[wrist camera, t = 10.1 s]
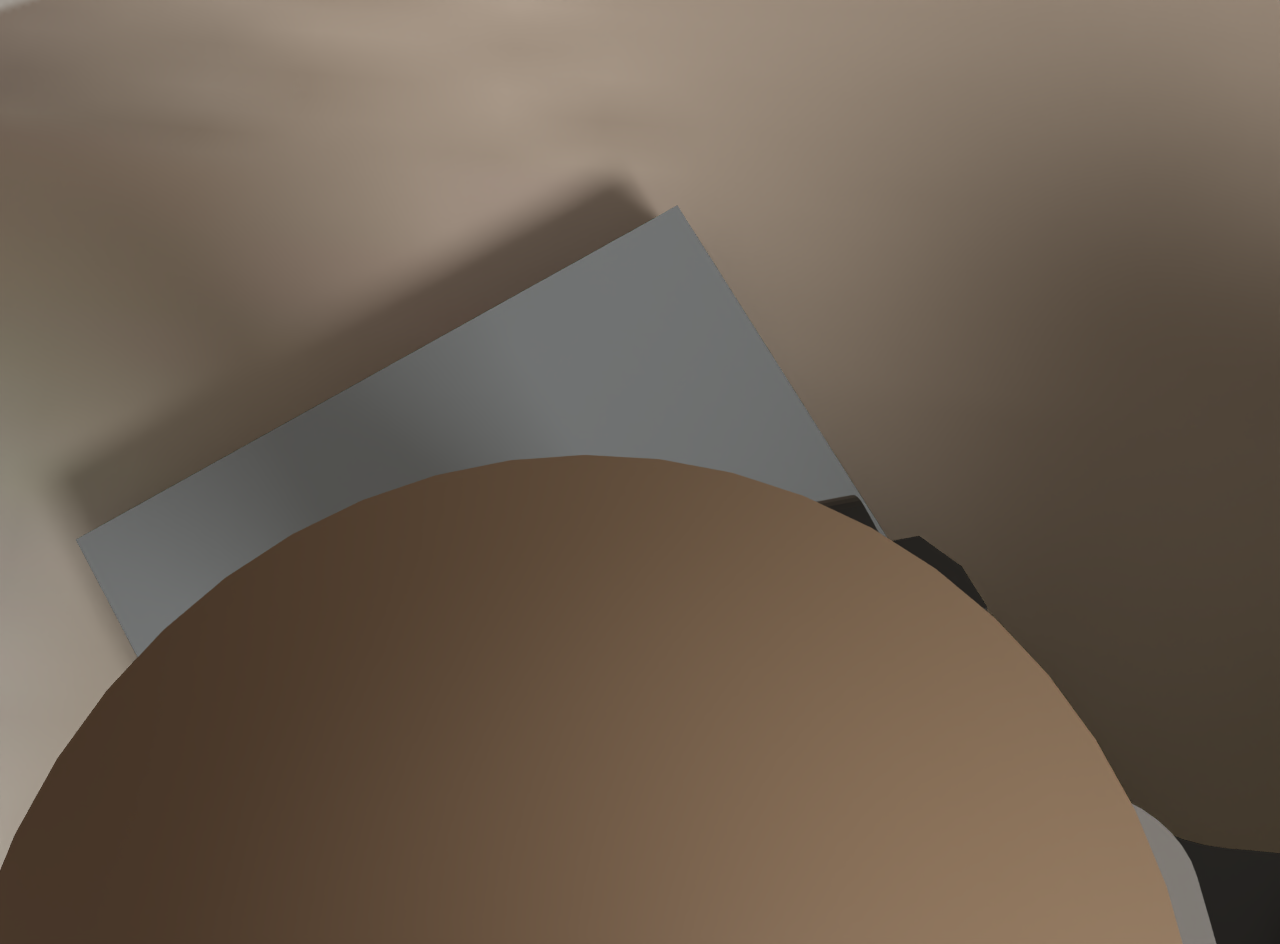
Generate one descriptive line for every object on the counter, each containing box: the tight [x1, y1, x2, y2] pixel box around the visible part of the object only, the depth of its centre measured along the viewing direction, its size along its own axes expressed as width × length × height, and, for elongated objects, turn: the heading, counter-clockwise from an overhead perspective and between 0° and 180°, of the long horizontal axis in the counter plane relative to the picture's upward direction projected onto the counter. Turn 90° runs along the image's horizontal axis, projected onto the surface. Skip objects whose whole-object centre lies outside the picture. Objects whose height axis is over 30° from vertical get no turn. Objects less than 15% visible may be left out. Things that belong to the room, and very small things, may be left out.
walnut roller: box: [0, 455, 1183, 944], centre depth 10 cm, size 5×5×12 cm
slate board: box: [76, 206, 887, 657], centre depth 20 cm, size 13×19×2 cm
